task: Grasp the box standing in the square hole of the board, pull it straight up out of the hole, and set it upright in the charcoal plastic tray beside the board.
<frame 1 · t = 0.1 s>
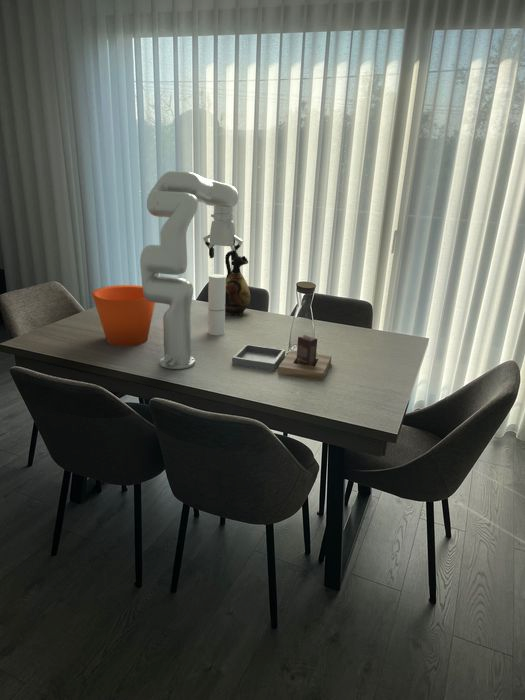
hand: (222, 258, 217), 31 cm above the table, fingers open, 9 cm apart
socket board: (305, 368, 188), on the table
tray: (259, 360, 193), on the table
cylindrical container: (216, 333, 223), on the table
box: (305, 369, 188), resting in socket board
ceramic jug: (233, 313, 254), on the table
flowerpot: (127, 340, 210), on the table
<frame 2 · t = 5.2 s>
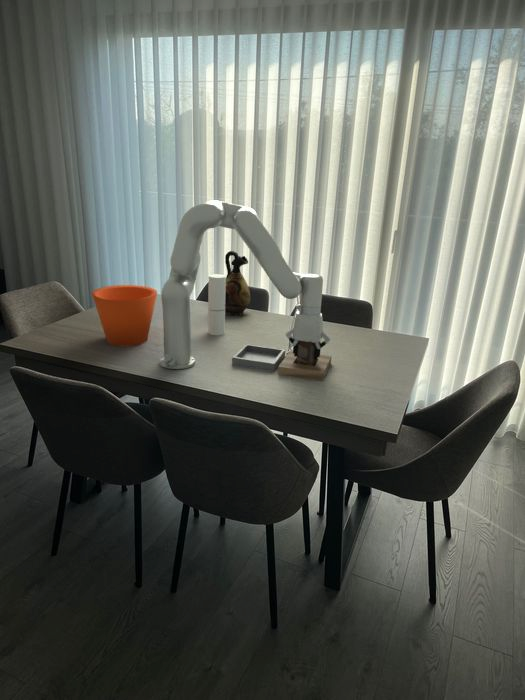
hand: (306, 356, 186), 5 cm above the table, fingers closed on box, 7 cm apart
box: (305, 369, 188), resting in socket board, touching gripper
everything else where it was.
when the fingers open (7 cm above the table, at t = 15.5 s): box drops 1 cm, resting on tray.
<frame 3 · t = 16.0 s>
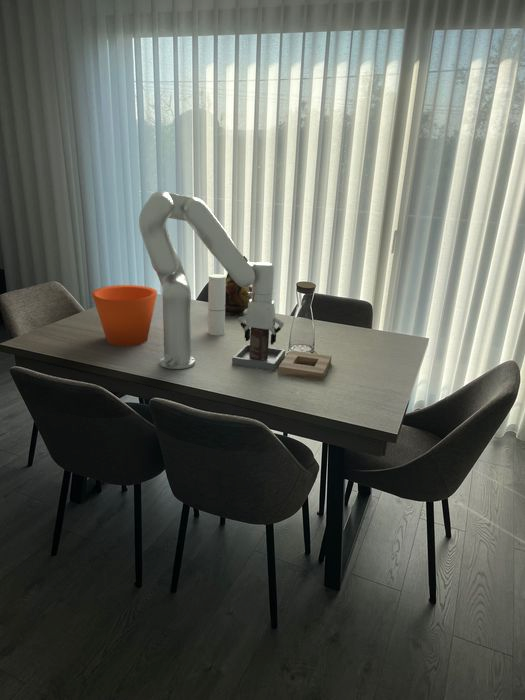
hand: (260, 341, 191), 8 cm above the table, fingers open, 9 cm apart
box: (258, 359, 193), point 1 cm above the table, touching tray
everything else where it was.
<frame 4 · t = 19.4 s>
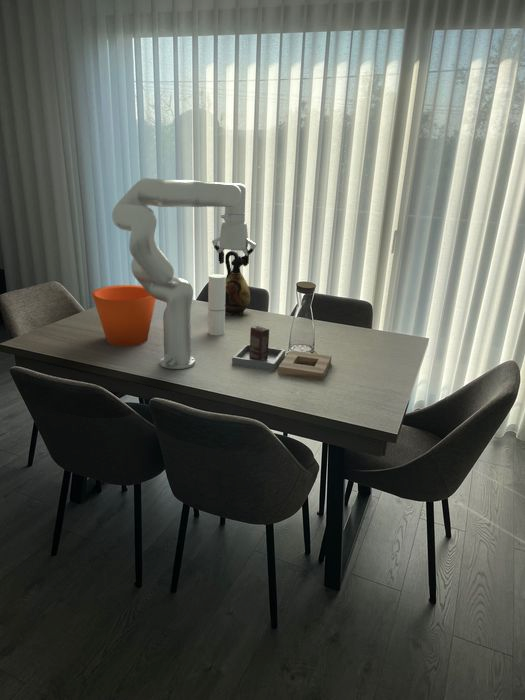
hand: (233, 264, 196), 33 cm above the table, fingers open, 9 cm apart
nothing on the table moved.
at the end: box inside the target area on the tray (0.3 cm from its centre), point 0.6 cm above the tray's base; box tilted 0°; the gripper is holding nothing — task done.
